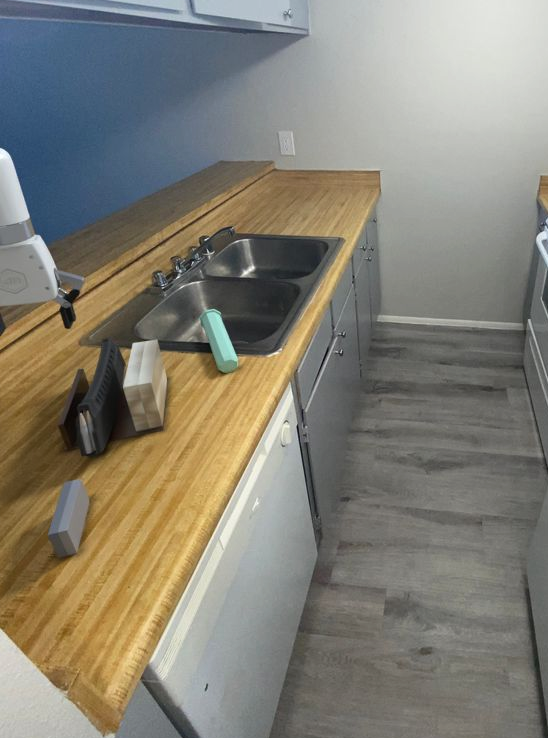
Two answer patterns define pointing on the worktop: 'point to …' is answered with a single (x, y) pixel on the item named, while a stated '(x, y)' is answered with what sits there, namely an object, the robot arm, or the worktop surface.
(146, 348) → the book rack
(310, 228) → the worktop surface
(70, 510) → the blue-grey rectangular block
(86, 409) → the magazine
